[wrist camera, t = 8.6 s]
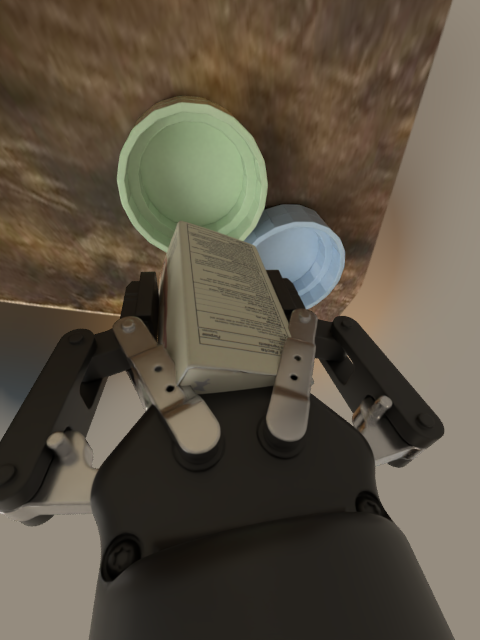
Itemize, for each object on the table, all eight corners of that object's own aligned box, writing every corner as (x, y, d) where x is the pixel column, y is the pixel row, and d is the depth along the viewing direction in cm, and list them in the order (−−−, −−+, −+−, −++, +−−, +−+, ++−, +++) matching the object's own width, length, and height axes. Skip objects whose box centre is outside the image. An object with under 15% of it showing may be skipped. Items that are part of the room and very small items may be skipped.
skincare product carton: (157, 279, 18) (145, 432, 11) (178, 216, 15) (181, 361, 8) (231, 299, 20) (262, 438, 13) (260, 246, 18) (319, 382, 10)
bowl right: (227, 295, 40) (232, 318, 37) (234, 201, 32) (241, 220, 28) (313, 292, 43) (326, 314, 39) (342, 204, 34) (362, 222, 30)
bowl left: (136, 236, 32) (132, 259, 29) (111, 88, 24) (100, 95, 20) (249, 236, 35) (257, 257, 31) (264, 102, 26) (279, 110, 22)
